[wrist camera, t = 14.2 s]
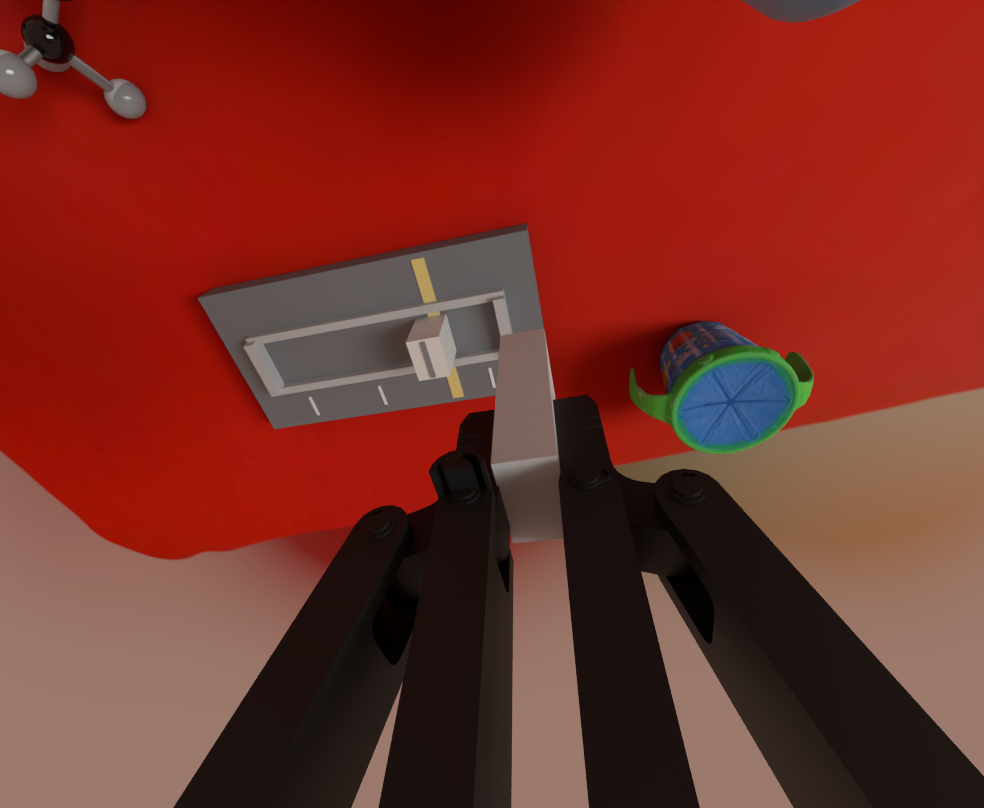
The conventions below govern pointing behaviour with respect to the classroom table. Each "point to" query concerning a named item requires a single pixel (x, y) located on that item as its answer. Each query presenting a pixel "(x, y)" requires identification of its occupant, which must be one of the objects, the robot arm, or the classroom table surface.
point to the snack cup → (724, 389)
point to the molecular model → (59, 63)
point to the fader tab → (431, 347)
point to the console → (377, 326)
